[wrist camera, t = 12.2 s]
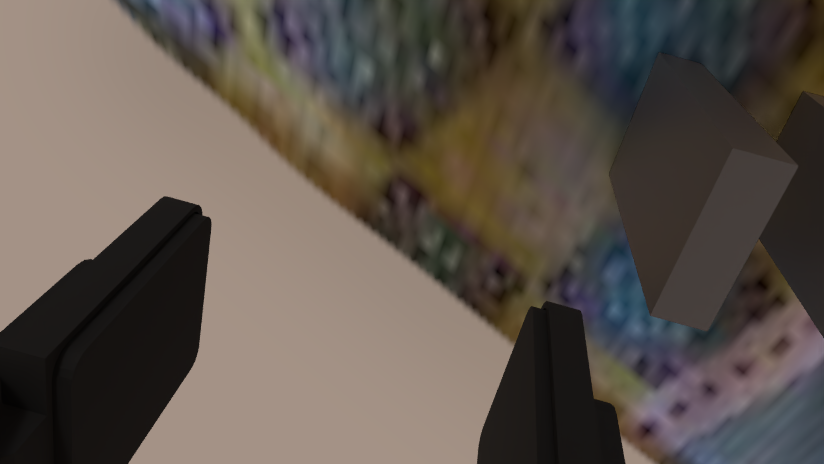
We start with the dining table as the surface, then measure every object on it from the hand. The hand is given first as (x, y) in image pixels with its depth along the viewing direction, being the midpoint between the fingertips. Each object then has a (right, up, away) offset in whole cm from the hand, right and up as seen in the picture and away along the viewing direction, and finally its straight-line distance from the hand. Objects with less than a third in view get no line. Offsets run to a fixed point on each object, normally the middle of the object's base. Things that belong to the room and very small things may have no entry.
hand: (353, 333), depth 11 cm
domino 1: (+10, +6, +15) cm, 19 cm away
